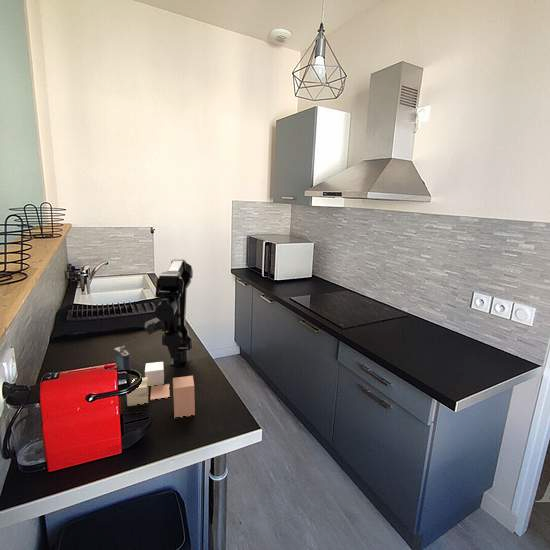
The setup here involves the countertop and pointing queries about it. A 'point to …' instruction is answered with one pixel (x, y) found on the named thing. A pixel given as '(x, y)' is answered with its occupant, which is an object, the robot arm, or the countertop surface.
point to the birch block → (139, 393)
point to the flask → (122, 358)
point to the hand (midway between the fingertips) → (172, 352)
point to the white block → (155, 373)
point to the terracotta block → (183, 396)
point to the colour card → (160, 392)
